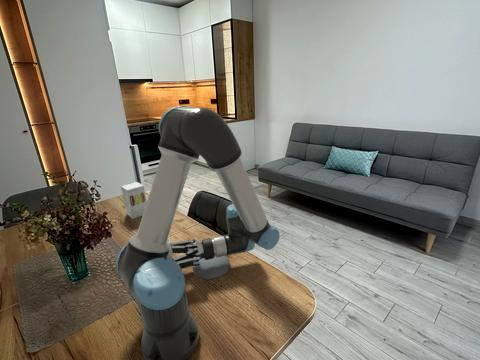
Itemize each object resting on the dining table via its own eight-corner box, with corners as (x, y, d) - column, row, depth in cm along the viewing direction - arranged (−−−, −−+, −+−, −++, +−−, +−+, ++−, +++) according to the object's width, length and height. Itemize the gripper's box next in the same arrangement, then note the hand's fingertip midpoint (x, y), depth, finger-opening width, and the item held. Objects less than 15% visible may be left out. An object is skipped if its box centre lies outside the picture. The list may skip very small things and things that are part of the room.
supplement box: (132, 219, 137) (125, 190, 131) (126, 213, 143) (119, 186, 137) (149, 213, 143) (144, 185, 137) (142, 208, 149) (137, 181, 143)
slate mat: (236, 269, 96) (235, 267, 95) (201, 285, 89) (201, 282, 89) (219, 250, 107) (219, 248, 107) (187, 263, 101) (187, 260, 100)
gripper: (219, 272, 88) (149, 288, 83) (210, 242, 105) (151, 253, 100) (217, 254, 85) (144, 269, 80) (208, 226, 103) (148, 237, 97)
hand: (148, 260), depth 90 cm, fingers closed on drinking glass, 6 cm apart
